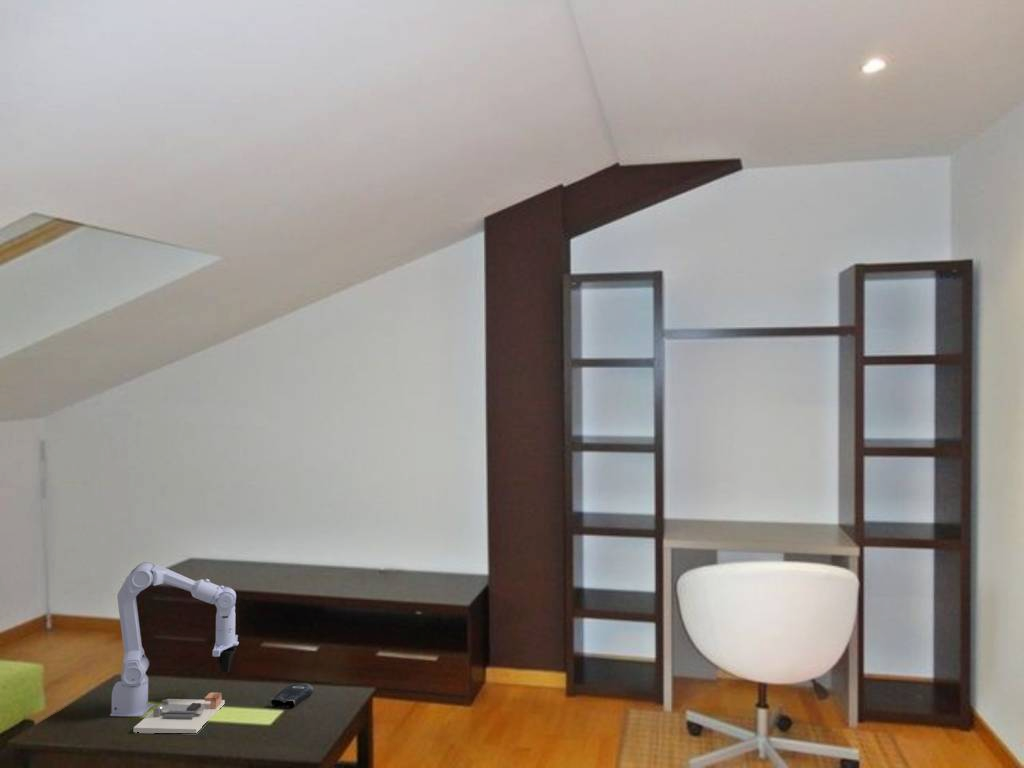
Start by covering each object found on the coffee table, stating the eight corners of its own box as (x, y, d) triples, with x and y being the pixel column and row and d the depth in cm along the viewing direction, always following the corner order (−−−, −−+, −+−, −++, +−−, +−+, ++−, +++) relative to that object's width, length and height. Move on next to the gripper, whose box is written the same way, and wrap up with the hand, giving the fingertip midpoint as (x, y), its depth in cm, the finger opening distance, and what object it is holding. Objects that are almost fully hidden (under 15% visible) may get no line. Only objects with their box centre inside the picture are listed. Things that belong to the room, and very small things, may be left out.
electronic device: (297, 715, 232) (318, 689, 246) (294, 698, 231) (315, 673, 246) (269, 716, 233) (292, 690, 248) (266, 699, 233) (289, 674, 247)
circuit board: (133, 733, 214) (133, 718, 214) (167, 703, 234) (167, 690, 234) (196, 734, 214) (196, 719, 214) (224, 705, 234) (224, 691, 234)
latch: (204, 707, 227) (204, 697, 228) (210, 702, 231) (210, 692, 232) (216, 708, 227) (216, 698, 227) (221, 702, 231) (221, 692, 231)
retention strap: (155, 712, 222) (155, 707, 222) (161, 707, 226) (162, 701, 226) (201, 715, 222) (201, 709, 222) (207, 709, 226) (207, 703, 226)
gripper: (228, 636, 229) (228, 681, 229) (247, 621, 243) (246, 663, 243) (205, 635, 229) (205, 680, 229) (225, 620, 243) (224, 663, 243)
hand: (225, 671), depth 236 cm, fingers closed
